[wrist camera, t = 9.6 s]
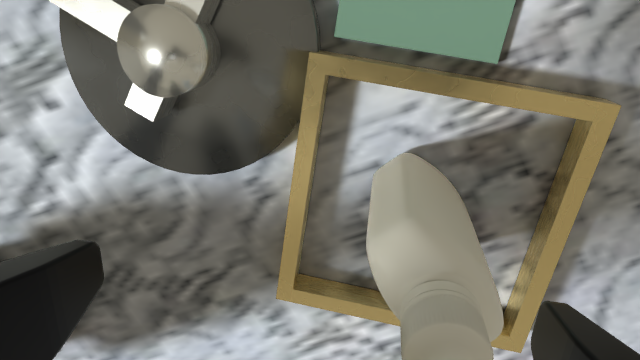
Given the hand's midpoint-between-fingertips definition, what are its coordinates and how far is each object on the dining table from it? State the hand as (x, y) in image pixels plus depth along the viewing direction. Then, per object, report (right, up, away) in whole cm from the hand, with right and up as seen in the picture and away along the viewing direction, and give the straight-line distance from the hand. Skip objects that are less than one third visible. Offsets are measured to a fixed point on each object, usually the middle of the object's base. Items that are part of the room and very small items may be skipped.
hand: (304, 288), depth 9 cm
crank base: (-6, +8, +12) cm, 16 cm away
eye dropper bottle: (+5, +1, +13) cm, 14 cm away
